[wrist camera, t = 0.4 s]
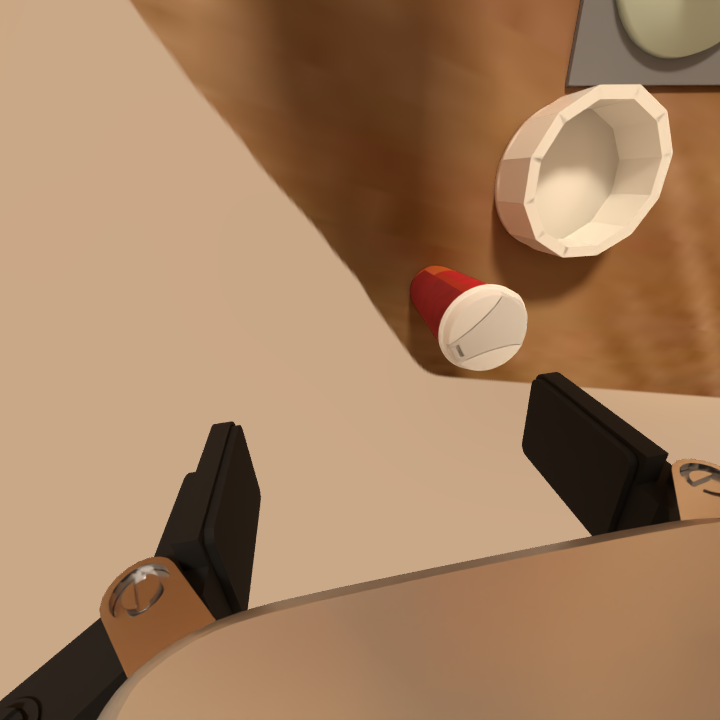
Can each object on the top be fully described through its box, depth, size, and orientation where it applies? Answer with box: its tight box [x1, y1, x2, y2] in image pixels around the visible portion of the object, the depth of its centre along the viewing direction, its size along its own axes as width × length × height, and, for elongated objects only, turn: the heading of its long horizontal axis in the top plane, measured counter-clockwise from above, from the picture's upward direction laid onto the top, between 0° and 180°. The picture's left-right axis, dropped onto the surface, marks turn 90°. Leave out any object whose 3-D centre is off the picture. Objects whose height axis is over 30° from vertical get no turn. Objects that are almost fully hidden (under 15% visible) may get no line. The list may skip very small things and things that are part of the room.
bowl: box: [494, 84, 673, 258], centre depth 36 cm, size 14×14×6 cm
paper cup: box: [410, 265, 527, 371], centre depth 36 cm, size 8×8×14 cm
